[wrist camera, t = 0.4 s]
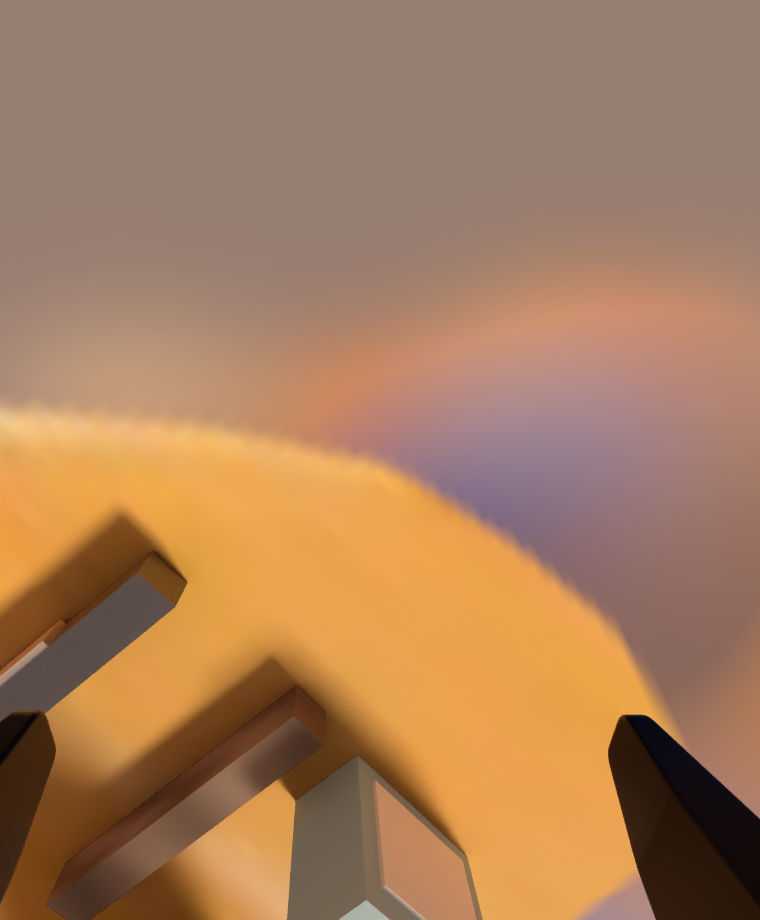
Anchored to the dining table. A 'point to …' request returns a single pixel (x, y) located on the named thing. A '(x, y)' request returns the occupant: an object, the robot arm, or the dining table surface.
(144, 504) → the dining table surface
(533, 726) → the dining table surface
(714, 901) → the robot arm
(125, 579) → the rail
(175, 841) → the shelf ledge
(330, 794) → the box
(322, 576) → the dining table surface
